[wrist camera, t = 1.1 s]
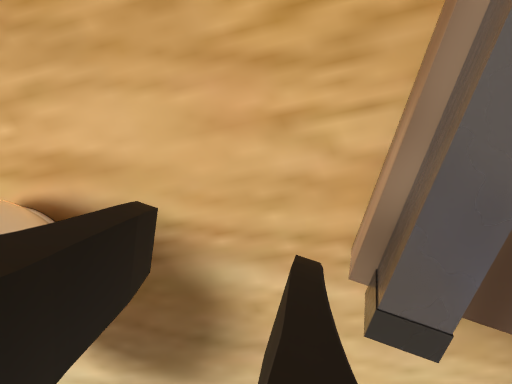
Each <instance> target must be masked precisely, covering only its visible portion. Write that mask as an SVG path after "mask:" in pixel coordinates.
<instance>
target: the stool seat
mask: <svg viewBox="0 0 512 384" xmlns="http://www.w3.org/2000/svg"><path fill="white" fill-rule="evenodd" d="M489 3H490V0H446V1H445V3H444V6H443V9H442V11H441V14H440V16H439V19H438V22H437V24H436V27H435V30H434V32H433V35H432V38H431V40H430V43H429V46H428V48H427V51H426V54H425V56H424V59H423V61H422V64H421V67H420V69H419V72H418V75H417V77H416V80H415V83H414V85H413V88H412V91H411V93H410V96H409V98H408V101H407V104H406V106H405V109H404V112H403V114H402V117H401V120H400V122H399V125H398V128H397V130H396V133H395V136H394V138H393V141H392V143H391V146H390V149H389V151H388V154H387V157H386V159H385V162H384V165H383V167H382V170H381V173H380V175H379V178H378V180H377V183H376V186H375V188H374V191H373V194H372V196H371V199H370V202H369V204H368V207H367V210H366V212H365V215H364V218H363V220H362V223H361V225H360V228H359V231H358V233H357V236H356V239H355V241H354V244H353V247H352V251H351V261H350V271H349V279H350V280H353V281H356V282H359V283H361V284H364V285H367V286H369V283H370V281H371V278H372V276H373V274H374V271H375V269H377V268H378V266H379V264H380V261H381V259H382V256H383V254H384V252H385V249H386V247H387V245H388V242H389V240H390V237H391V235H392V233H393V230H394V228H395V226H396V223H397V221H398V218H399V216H400V214H401V211H402V209H403V207H404V204H405V202H406V199H407V197H408V195H409V192H410V190H411V188H412V185H413V183H414V181H415V178H416V176H417V173H418V171H419V169H420V166H421V164H422V162H423V159H424V157H425V154H426V152H427V150H428V147H429V145H430V143H431V140H432V138H433V135H434V133H435V131H436V128H437V126H438V124H439V121H440V119H441V116H442V114H443V112H444V109H445V107H446V105H447V102H448V100H449V97H450V95H451V93H452V90H453V88H454V86H455V83H456V81H457V78H458V76H459V74H460V71H461V69H462V67H463V64H464V62H465V59H466V57H467V55H468V52H469V50H470V48H471V45H472V43H473V40H474V38H475V36H476V33H477V31H478V29H479V26H480V24H481V21H482V19H483V17H484V14H485V12H486V10H487V7H488V5H489ZM462 318H465V319H468V320H471V321H474V322H476V323H479V324H482V325H485V326H488V327H491V328H494V329H497V330H500V331H503V332H506V333H509V334H512V230H511V231H510V233H509V235H508V237H507V239H506V240H505V242H504V244H503V246H502V247H501V249H500V251H499V253H498V254H497V256H496V258H495V260H494V261H493V263H492V265H491V267H490V268H489V270H488V272H487V274H486V276H485V277H484V279H483V281H482V283H481V284H480V286H479V288H478V290H477V291H476V293H475V295H474V297H473V298H472V300H471V302H470V304H469V305H468V307H467V309H466V311H465V313H464V314H463V316H462Z"/></svg>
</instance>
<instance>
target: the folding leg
mask: <svg viewBox="0 0 512 384" xmlns="http://www.w3.org/2000/svg"><path fill="white" fill-rule="evenodd" d="M511 230H512V0H490V3H489V5H488V7H487V10H486V12H485V14H484V17H483V19H482V21H481V24H480V26H479V29H478V31H477V33H476V36H475V38H474V40H473V43H472V45H471V48H470V50H469V52H468V55H467V57H466V59H465V62H464V64H463V67H462V69H461V71H460V74H459V76H458V78H457V81H456V83H455V86H454V88H453V90H452V93H451V95H450V97H449V100H448V102H447V105H446V107H445V109H444V112H443V114H442V116H441V119H440V121H439V124H438V126H437V128H436V131H435V133H434V135H433V138H432V140H431V143H430V145H429V147H428V150H427V152H426V154H425V157H424V159H423V162H422V164H421V166H420V169H419V171H418V173H417V176H416V178H415V181H414V183H413V185H412V188H411V190H410V192H409V195H408V197H407V199H406V202H405V204H404V207H403V209H402V211H401V214H400V216H399V218H398V221H397V223H396V226H395V228H394V230H393V233H392V235H391V237H390V240H389V242H388V245H387V247H386V249H385V252H384V254H383V256H382V259H381V261H380V264H379V266H378V268H377V269H375V271H374V274H373V276H372V278H371V281H370V283H369V286H368V288H367V290H366V293H365V320H364V337H367V338H370V339H372V340H375V341H378V342H381V343H384V344H386V345H389V346H392V347H395V348H397V349H400V350H403V351H406V352H409V353H411V354H414V355H417V356H420V357H423V358H425V359H428V360H431V361H434V362H436V363H439V361H440V360H441V358H442V356H443V354H444V353H445V351H446V349H447V347H448V346H449V344H450V342H451V340H452V339H453V337H454V336H453V332H454V330H455V328H456V327H457V325H458V323H459V321H460V320H461V318H462V316H463V314H464V313H465V311H466V309H467V307H468V305H469V304H470V302H471V300H472V298H473V297H474V295H475V293H476V291H477V290H478V288H479V286H480V284H481V283H482V281H483V279H484V277H485V276H486V274H487V272H488V270H489V268H490V267H491V265H492V263H493V261H494V260H495V258H496V256H497V254H498V253H499V251H500V249H501V247H502V246H503V244H504V242H505V240H506V239H507V237H508V235H509V233H510V231H511Z"/></svg>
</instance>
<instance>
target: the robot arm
mask: <svg viewBox="0 0 512 384" xmlns="http://www.w3.org/2000/svg"><path fill="white" fill-rule="evenodd" d="M157 212H158V208H155V207H152V206H150V205H147V204H144V203H141V202H138V201H135V202H130V203H125V204H121V205H117V206H113V207H109V208H106V209H102V210H99V211H95V212H91V213H88V214H84V215H80V216H77V217H73V218H69V219H66V220H62V221H58V222H54V223H49V224H45V225H41V226H37V227H32V228H28V229H24V230H20V231H15V232H10V233H5V234H0V384H56V383H57V382H58V381H59V380H60V379H61V378H62V376H63V375H64V374H65V373H66V372H67V370H68V369H69V368H70V367H71V366H72V365H73V364H74V363H75V362H76V360H77V359H78V358H79V357H80V356H81V355H82V354H83V353H84V352H85V351H86V350H87V348H88V347H89V346H90V345H91V344H92V343H93V342H94V341H95V340H96V339H97V338H98V336H99V335H100V334H101V333H102V332H103V331H104V330H105V329H106V328H107V327H108V325H109V324H110V323H111V322H112V321H113V320H114V319H115V318H116V317H117V315H118V314H119V313H120V312H121V311H122V310H123V309H124V308H125V306H126V305H127V304H128V303H129V302H130V300H131V299H132V298H133V296H134V295H135V293H136V292H137V291H138V289H139V288H140V286H141V285H142V283H143V282H144V280H145V279H146V277H147V276H148V274H149V273H150V268H151V260H152V252H153V244H154V236H155V228H156V220H157ZM258 384H358V383H357V381H356V379H355V377H354V374H353V372H352V370H351V367H350V365H349V362H348V360H347V357H346V355H345V352H344V349H343V346H342V344H341V341H340V338H339V335H338V332H337V329H336V326H335V322H334V319H333V316H332V312H331V309H330V305H329V301H328V297H327V292H326V287H325V282H324V274H323V267H322V265H321V263H319V262H316V261H313V260H310V259H307V258H304V257H301V256H298V255H296V256H295V259H294V262H293V264H292V267H291V270H290V273H289V277H288V280H287V283H286V286H285V290H284V293H283V296H282V299H281V303H280V306H279V309H278V312H277V315H276V319H275V322H274V325H273V328H272V332H271V335H270V338H269V341H268V345H267V348H266V351H265V355H264V359H263V364H262V368H261V373H260V377H259V382H258Z"/></svg>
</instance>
